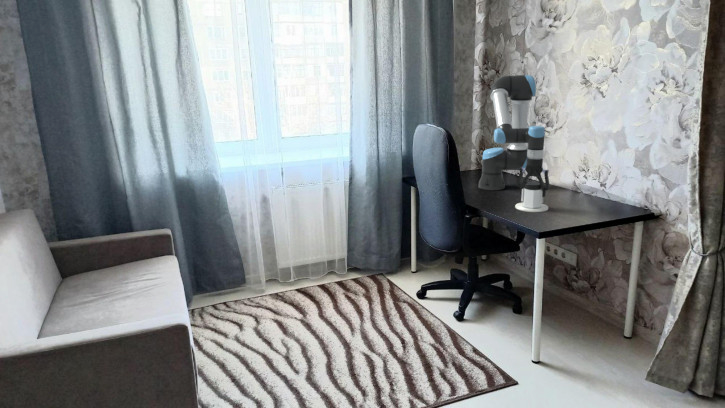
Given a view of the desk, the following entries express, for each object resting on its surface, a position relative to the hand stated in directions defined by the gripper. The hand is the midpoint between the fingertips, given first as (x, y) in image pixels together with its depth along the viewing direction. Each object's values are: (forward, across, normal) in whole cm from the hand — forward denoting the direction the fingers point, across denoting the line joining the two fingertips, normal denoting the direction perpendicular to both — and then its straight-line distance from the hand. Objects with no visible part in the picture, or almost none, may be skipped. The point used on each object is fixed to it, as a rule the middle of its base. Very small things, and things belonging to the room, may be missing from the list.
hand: (531, 201), depth 250 cm
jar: (+3, 0, 0) cm, 3 cm away
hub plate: (+3, 0, 0) cm, 3 cm away
